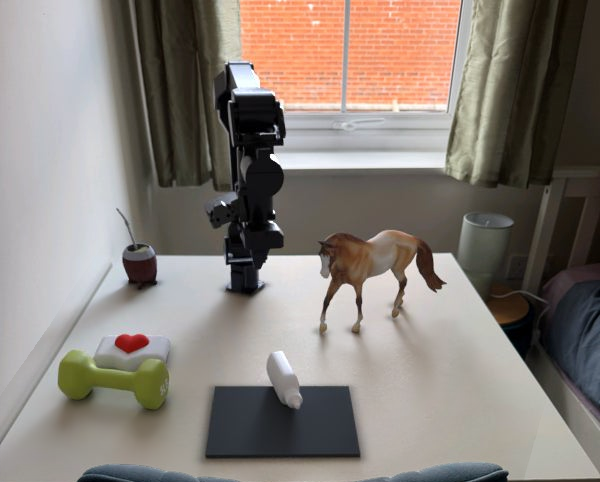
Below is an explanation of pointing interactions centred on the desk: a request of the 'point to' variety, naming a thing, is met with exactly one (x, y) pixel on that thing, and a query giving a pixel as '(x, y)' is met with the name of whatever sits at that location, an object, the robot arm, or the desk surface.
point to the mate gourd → (139, 261)
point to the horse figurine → (373, 265)
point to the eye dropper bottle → (284, 380)
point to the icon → (130, 351)
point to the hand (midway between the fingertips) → (257, 268)
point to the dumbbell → (113, 379)
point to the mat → (281, 423)
